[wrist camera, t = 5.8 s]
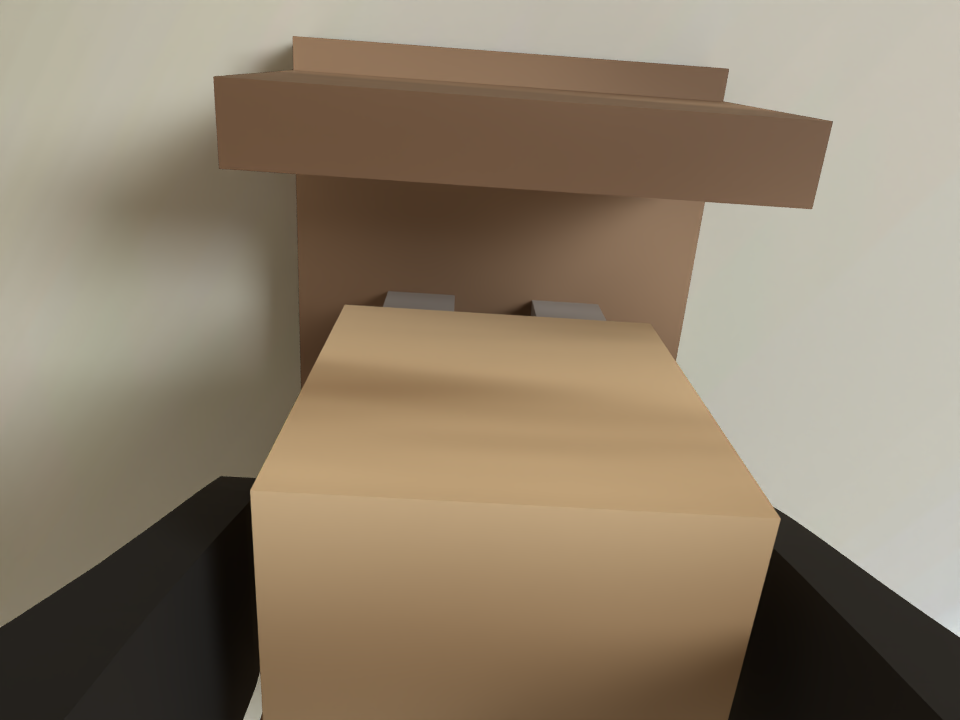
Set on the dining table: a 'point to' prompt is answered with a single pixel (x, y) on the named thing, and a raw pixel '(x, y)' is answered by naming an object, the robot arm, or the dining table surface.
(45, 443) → the dining table surface
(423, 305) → the stand
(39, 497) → the dining table surface
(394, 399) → the light wooden block
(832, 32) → the dining table surface
